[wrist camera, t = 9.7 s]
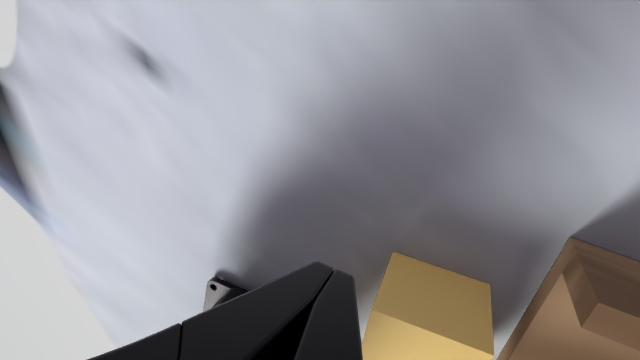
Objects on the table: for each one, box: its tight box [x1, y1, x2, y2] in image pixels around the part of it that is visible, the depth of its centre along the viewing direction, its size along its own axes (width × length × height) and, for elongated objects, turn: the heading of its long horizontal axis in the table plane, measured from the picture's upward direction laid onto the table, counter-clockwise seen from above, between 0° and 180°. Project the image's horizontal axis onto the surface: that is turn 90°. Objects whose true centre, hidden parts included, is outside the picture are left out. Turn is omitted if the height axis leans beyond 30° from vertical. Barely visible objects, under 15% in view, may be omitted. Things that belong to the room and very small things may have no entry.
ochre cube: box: [362, 252, 494, 360], centre depth 20 cm, size 5×5×5 cm
